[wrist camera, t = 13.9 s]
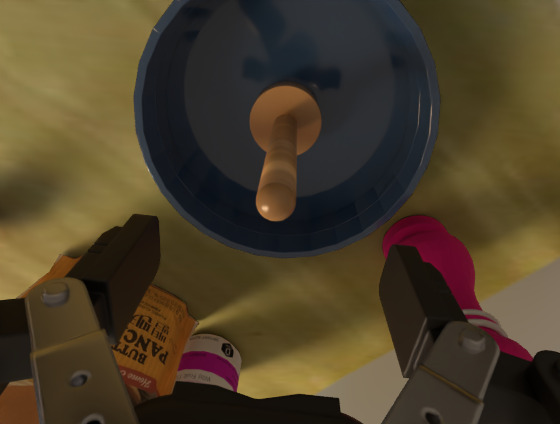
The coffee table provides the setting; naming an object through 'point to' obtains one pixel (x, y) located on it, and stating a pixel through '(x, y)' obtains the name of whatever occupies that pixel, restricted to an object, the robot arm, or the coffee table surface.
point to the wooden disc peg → (283, 143)
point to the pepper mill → (451, 271)
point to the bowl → (331, 99)
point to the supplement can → (210, 362)
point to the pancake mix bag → (122, 350)
